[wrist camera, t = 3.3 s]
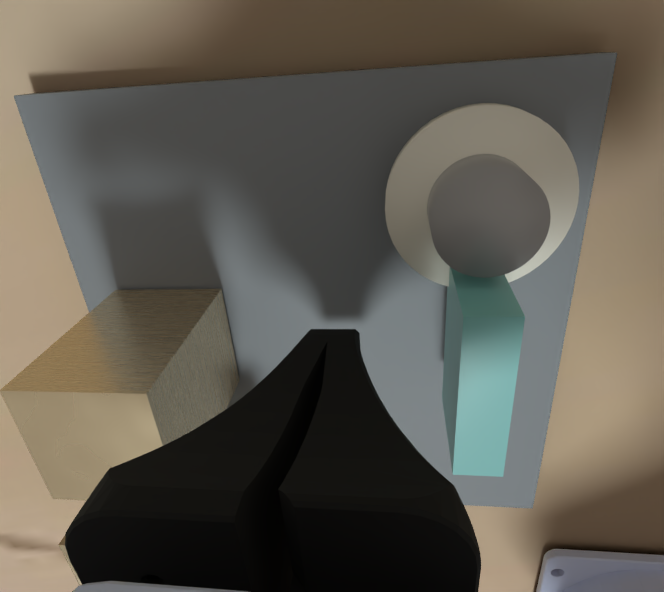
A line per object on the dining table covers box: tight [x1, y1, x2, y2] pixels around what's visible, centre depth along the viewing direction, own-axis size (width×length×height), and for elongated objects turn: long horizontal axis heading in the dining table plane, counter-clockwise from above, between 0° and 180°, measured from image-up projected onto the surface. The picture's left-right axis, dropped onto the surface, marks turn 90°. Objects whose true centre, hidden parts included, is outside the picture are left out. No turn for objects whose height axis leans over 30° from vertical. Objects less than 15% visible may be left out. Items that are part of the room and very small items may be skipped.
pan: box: [385, 103, 579, 477], centre depth 11 cm, size 8×4×3 cm, turn 4°
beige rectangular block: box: [0, 289, 240, 501], centre depth 15 cm, size 9×4×5 cm, turn 4°
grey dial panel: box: [14, 52, 617, 585], centre depth 13 cm, size 15×15×6 cm
